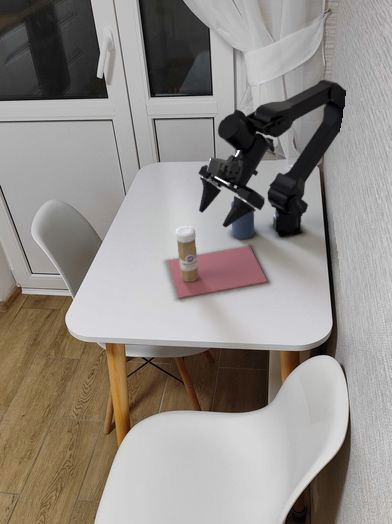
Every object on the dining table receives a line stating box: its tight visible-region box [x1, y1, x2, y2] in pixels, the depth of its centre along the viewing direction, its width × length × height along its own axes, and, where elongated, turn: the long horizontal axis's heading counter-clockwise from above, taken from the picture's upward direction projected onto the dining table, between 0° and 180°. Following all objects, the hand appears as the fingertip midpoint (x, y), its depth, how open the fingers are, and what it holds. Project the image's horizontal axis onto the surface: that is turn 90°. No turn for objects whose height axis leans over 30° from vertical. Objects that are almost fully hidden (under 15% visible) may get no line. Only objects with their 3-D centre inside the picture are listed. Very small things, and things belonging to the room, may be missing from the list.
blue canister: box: [230, 200, 255, 240], centre depth 143 cm, size 6×6×9 cm
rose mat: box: [167, 245, 268, 300], centre depth 135 cm, size 22×16×1 cm
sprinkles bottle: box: [175, 225, 199, 282], centre depth 129 cm, size 5×5×14 cm
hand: (212, 219), depth 127 cm, fingers open, 9 cm apart
